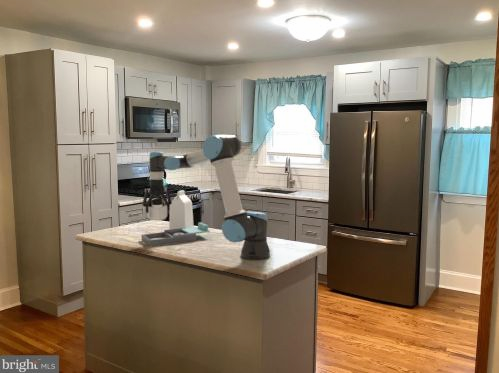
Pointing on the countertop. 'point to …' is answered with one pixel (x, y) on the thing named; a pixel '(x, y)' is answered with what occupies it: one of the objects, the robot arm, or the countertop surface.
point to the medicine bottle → (157, 210)
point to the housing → (168, 237)
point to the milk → (181, 212)
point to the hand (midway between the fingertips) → (157, 217)
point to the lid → (197, 229)
